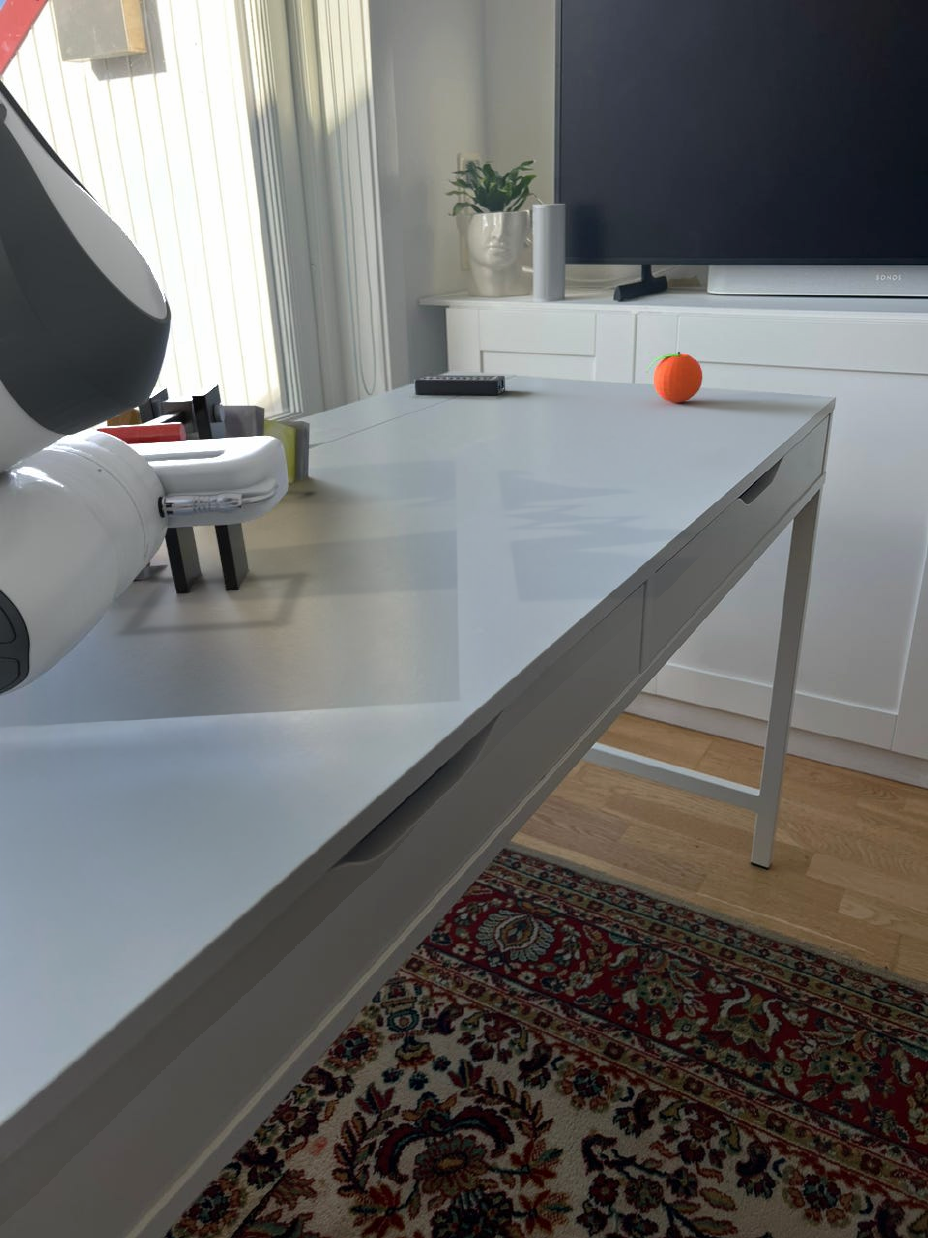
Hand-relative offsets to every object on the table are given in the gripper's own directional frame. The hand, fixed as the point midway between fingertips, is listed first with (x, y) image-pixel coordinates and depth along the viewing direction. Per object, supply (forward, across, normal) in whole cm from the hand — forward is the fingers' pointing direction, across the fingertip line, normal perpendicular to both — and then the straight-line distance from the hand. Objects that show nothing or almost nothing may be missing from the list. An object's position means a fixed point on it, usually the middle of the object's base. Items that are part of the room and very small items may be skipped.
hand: (153, 452), depth 63 cm
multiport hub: (+91, -21, +14) cm, 94 cm away
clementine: (+73, -52, +14) cm, 91 cm away
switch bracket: (+8, 0, +14) cm, 16 cm away
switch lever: (+3, 0, 0) cm, 3 cm away
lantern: (+26, +4, +15) cm, 30 cm away
